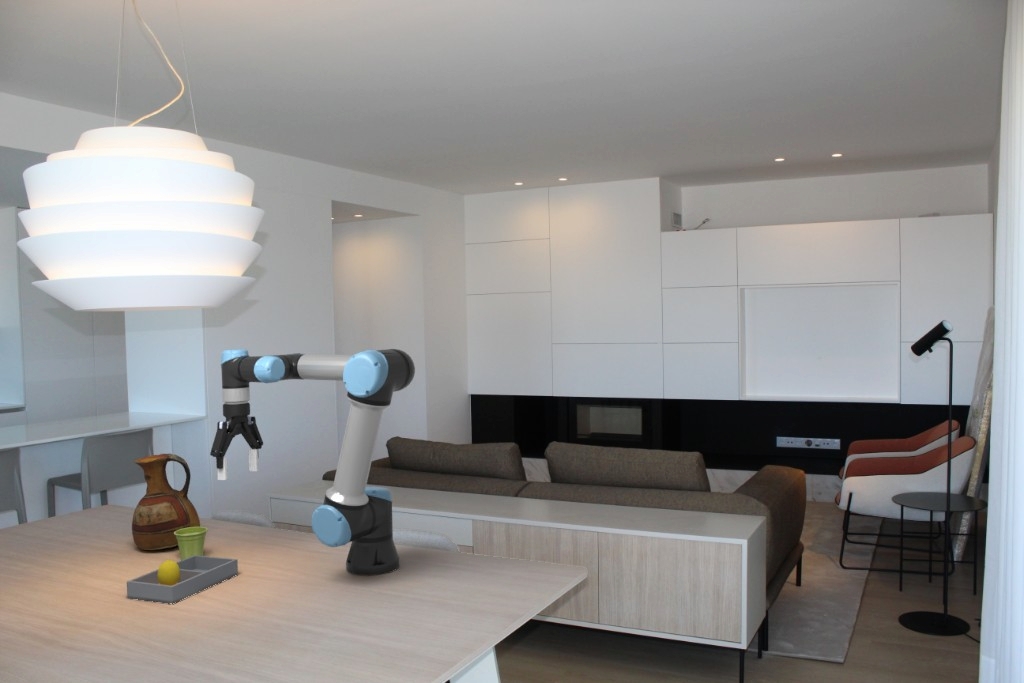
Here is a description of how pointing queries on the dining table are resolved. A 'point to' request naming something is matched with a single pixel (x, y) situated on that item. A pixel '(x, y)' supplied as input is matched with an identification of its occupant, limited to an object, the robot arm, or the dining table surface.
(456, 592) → the dining table surface
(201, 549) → the plant pot
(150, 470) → the ceramic pitcher
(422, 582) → the dining table surface
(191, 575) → the sorting tray
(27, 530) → the dining table surface
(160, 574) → the lemon
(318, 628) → the dining table surface
